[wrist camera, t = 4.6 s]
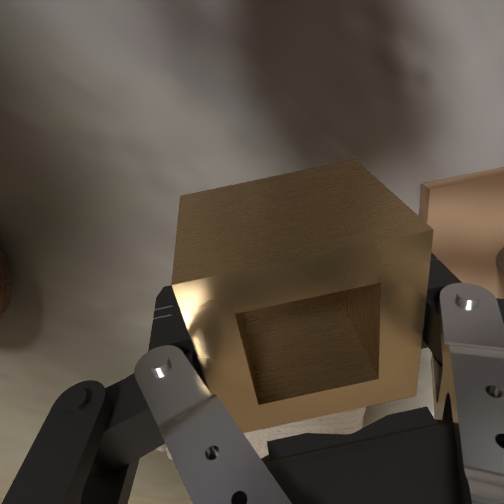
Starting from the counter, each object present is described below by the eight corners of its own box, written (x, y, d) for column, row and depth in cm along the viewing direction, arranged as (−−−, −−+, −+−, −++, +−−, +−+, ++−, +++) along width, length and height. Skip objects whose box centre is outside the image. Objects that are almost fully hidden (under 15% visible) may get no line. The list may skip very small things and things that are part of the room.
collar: (180, 195, 13) (171, 285, 8) (354, 159, 13) (433, 229, 8) (218, 325, 16) (226, 436, 12) (357, 295, 16) (416, 395, 12)
